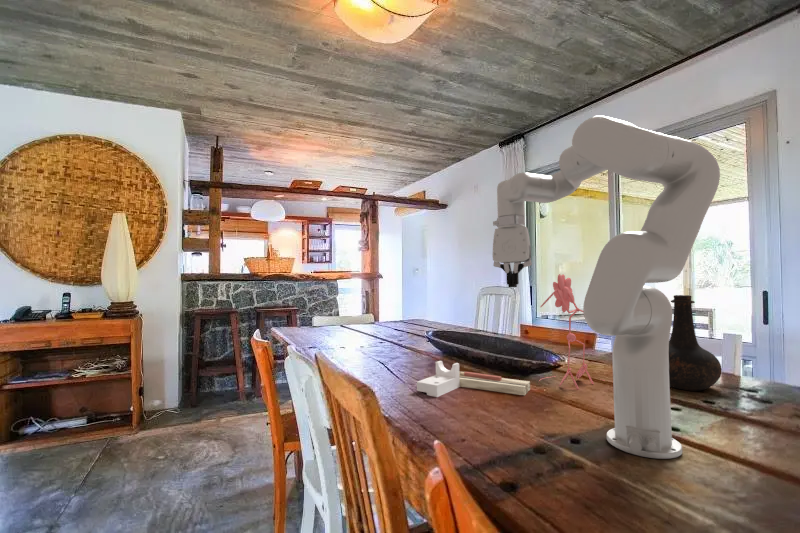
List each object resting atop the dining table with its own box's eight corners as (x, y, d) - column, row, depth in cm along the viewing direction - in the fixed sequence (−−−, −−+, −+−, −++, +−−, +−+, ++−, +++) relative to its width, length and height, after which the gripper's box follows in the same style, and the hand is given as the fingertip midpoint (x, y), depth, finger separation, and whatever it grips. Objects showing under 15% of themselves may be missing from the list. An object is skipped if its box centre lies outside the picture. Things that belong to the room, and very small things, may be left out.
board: (524, 395, 109) (524, 386, 109) (447, 384, 121) (447, 376, 121) (530, 389, 115) (529, 381, 115) (456, 379, 127) (456, 372, 127)
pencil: (501, 379, 117) (501, 376, 117) (499, 380, 116) (499, 377, 116) (460, 373, 125) (460, 370, 125) (458, 374, 124) (458, 371, 124)
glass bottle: (637, 379, 125) (633, 294, 126) (692, 379, 125) (689, 293, 126) (673, 395, 107) (669, 296, 109) (739, 395, 107) (734, 295, 108)
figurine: (608, 380, 124) (602, 273, 126) (566, 395, 108) (560, 273, 110) (564, 372, 136) (559, 275, 138) (520, 385, 121) (515, 275, 123)
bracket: (440, 384, 123) (439, 360, 123) (459, 387, 119) (459, 363, 119) (417, 393, 113) (416, 368, 113) (437, 398, 108) (436, 371, 109)
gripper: (481, 224, 111) (483, 287, 110) (535, 219, 103) (537, 287, 102) (490, 227, 117) (491, 287, 116) (540, 223, 109) (542, 286, 108)
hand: (512, 287), depth 109 cm, fingers closed
